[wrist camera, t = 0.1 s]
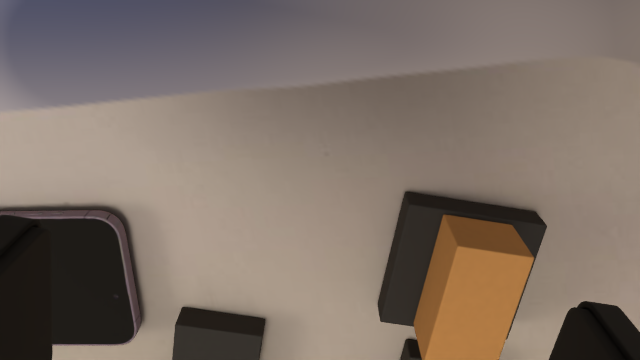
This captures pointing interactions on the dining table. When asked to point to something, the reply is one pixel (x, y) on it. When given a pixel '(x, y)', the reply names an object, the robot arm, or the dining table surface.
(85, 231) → the smartphone
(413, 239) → the pad piece
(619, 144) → the dining table surface
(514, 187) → the dining table surface
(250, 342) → the mat
